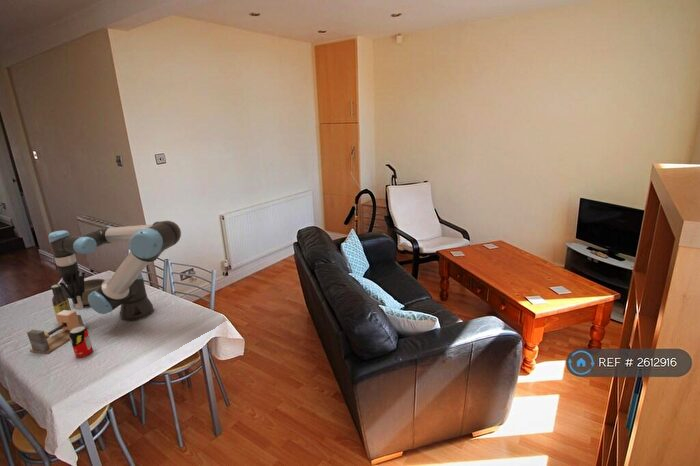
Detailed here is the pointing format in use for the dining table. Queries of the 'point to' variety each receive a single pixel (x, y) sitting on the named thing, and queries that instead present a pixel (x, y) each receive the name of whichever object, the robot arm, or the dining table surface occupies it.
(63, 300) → the sauce bottle
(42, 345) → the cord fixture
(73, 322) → the sleeve
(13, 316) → the dining table surface
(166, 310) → the dining table surface
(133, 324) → the dining table surface
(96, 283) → the bowl
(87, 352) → the beverage can
